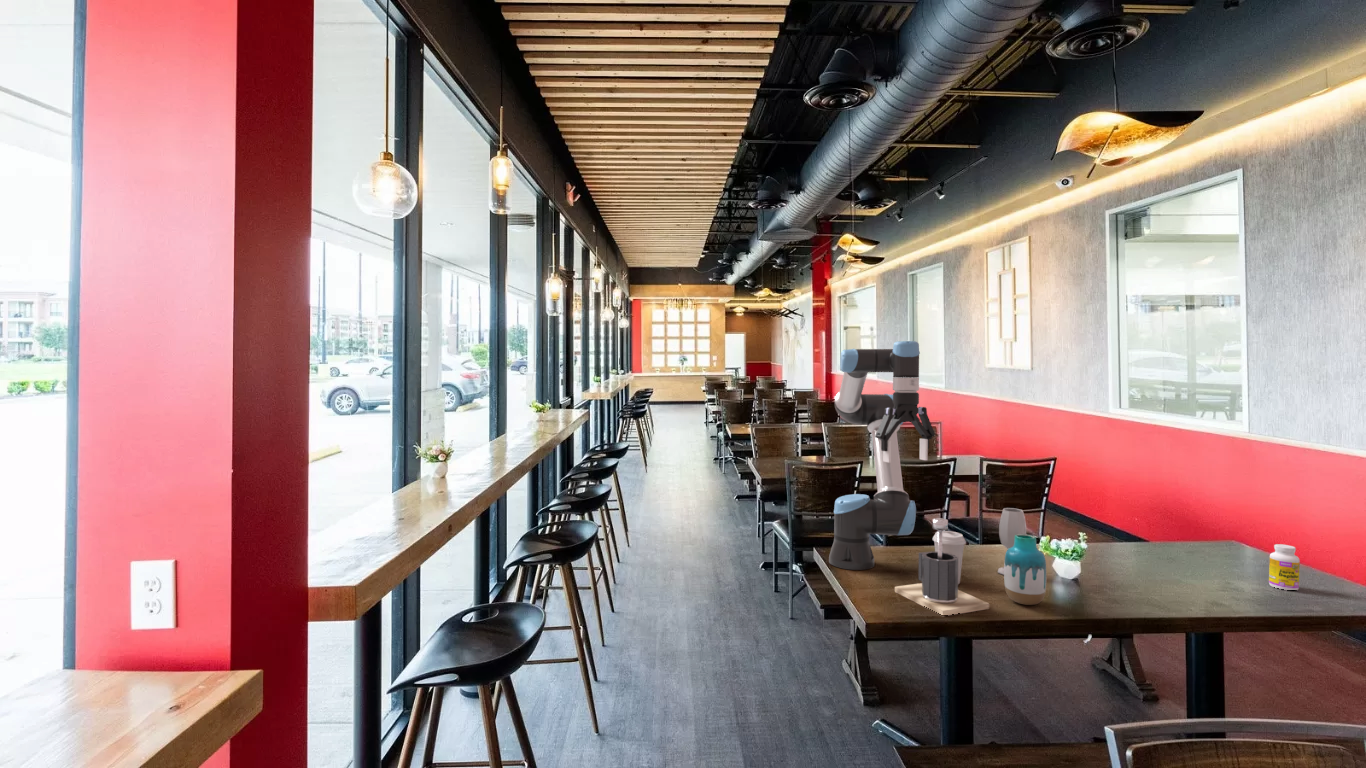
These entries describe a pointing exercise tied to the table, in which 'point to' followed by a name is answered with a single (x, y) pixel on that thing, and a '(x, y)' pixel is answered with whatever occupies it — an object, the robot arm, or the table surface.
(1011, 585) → the vase
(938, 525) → the plunger
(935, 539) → the coffee cup
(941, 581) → the fluted grey tumbler
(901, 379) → the robot arm
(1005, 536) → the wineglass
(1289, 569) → the supplement bottle
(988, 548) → the table surface
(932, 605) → the serving board
